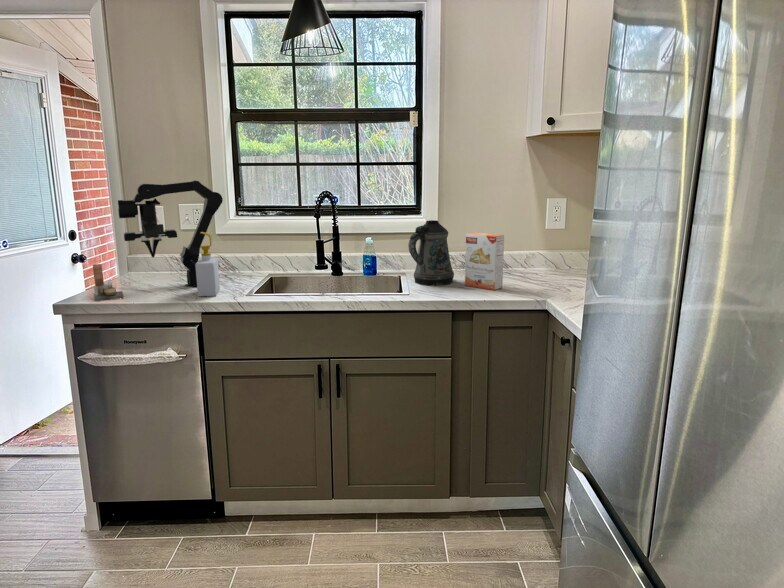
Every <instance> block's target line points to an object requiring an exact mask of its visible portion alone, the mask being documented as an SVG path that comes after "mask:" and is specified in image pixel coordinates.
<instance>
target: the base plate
mask: <svg viewBox="0 0 784 588" xmlns="http://www.w3.org/2000/svg"><path fill="white" fill-rule="evenodd" d="M93 295H94V296H93V297H94V302H98V301H99V302H100V301H101V300H102V301H110V299H112V300H120V298H121V299H124V297H125V296H124V293H123V290H120V291H119V290H118V291H116V294H115V295H106V294H104V293H103V295H100V296H96V295H95V293H94V294H93ZM102 301H101V302H102Z"/></svg>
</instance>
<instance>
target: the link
mask: <svg viewBox="0 0 784 588" xmlns="http://www.w3.org/2000/svg"><path fill="white" fill-rule="evenodd" d="M92 270H93V272H92V273H93V278H94V286H98V285H103V284H105V282H104V274H103V265H102V263H99V264H98V263H97V264H92ZM116 292H117V288H116V287H113V286H112V288H105V289H103V293H104V294H106V295H115V294H116Z"/></svg>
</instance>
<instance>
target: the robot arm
mask: <svg viewBox="0 0 784 588" xmlns="http://www.w3.org/2000/svg"><path fill="white" fill-rule="evenodd" d="M186 192H195V193H197V194H198V195H199V196H200V197H202V198H203V199H204V201H203V207H202V213H201V216H200V218H199V221H198V223H197V226H196V228H195V231H194V233H193V236H192V237H191V240H190V241H189V242H190V243H189V244H188V245H187V247H186V246H183V247H182V251H181V253H180V254H179V256H180V262H181V264H182V265H183V266H184V267H185V268H187V270H186V280H187V281H186V283H185V284H184V286H185V287H191V286H193V287H192V288H197V278H196V266H195V265H196V263H197V262H198V261H199V260H200V252H201V250H200V249H201V248H200V246H202V244H203V241H204V239H205V237H206V235H205V234H201V233H200V232H205V233H208V232H207V231H208V229H209V226H210V224H211V221H212V219H213V217H214V215H215V214H216V213H217V211H218V210H219V208H220V207H221V205H222V204H223V201H224V199H223V196H222V195H221V193H219V192H217V191H213V190H211V189H210V188H208V187H207V186H205V184H203V183H202V182H200V181H198V180H191V181H183V182H176V183H175V182H173V183H165V184H158V183H157V184H155V183H141V184H139V185H138V187H136V194H135V196H134V197H133V199H131V200H130V199H127V200H126V199H125V200H124V199H118V200H117V210H118V218H119V219H134V218H136V216H138V215H139V217H140V218H139V219H140V225H141V232H140V233H136V232H135V231H127V232H126V231H125V232H124V233H123V240H124V242H133V241H135V240H136V239H140V241H141V243H144V244H145V246H146V248H147V249H148V251H149V254H150V256H151V258H155V256H156V252H157V248H158V244H159V242H162V241H163V239H162V237H167V238H168V239H173V238H178V233H177V231H176V229H171V228H170V229H165V228H164V224H163V223H158V218H157V208H156V206H159V205H161V202H159V201H158V199H157V198H158V197H159V196H163V195H167V194H178V193H186ZM156 197H157V198H156ZM150 199H152V200H150ZM144 200H145V201H144ZM143 201H144V203H143ZM150 238H151V239H152V245H151V240H150Z"/></svg>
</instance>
